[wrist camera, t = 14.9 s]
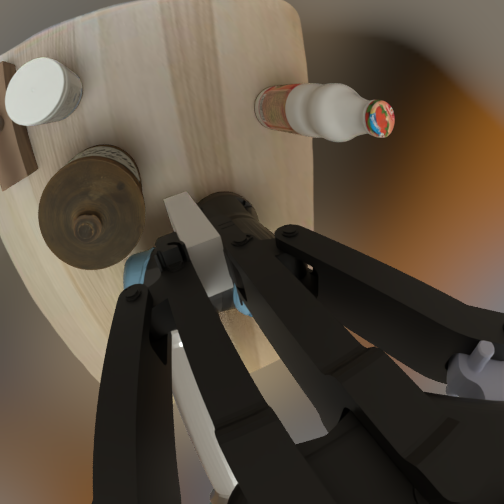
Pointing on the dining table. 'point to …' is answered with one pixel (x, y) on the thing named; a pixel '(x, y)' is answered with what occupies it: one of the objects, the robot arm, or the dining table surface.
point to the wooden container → (93, 208)
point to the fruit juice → (323, 111)
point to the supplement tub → (42, 92)
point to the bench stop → (12, 139)
